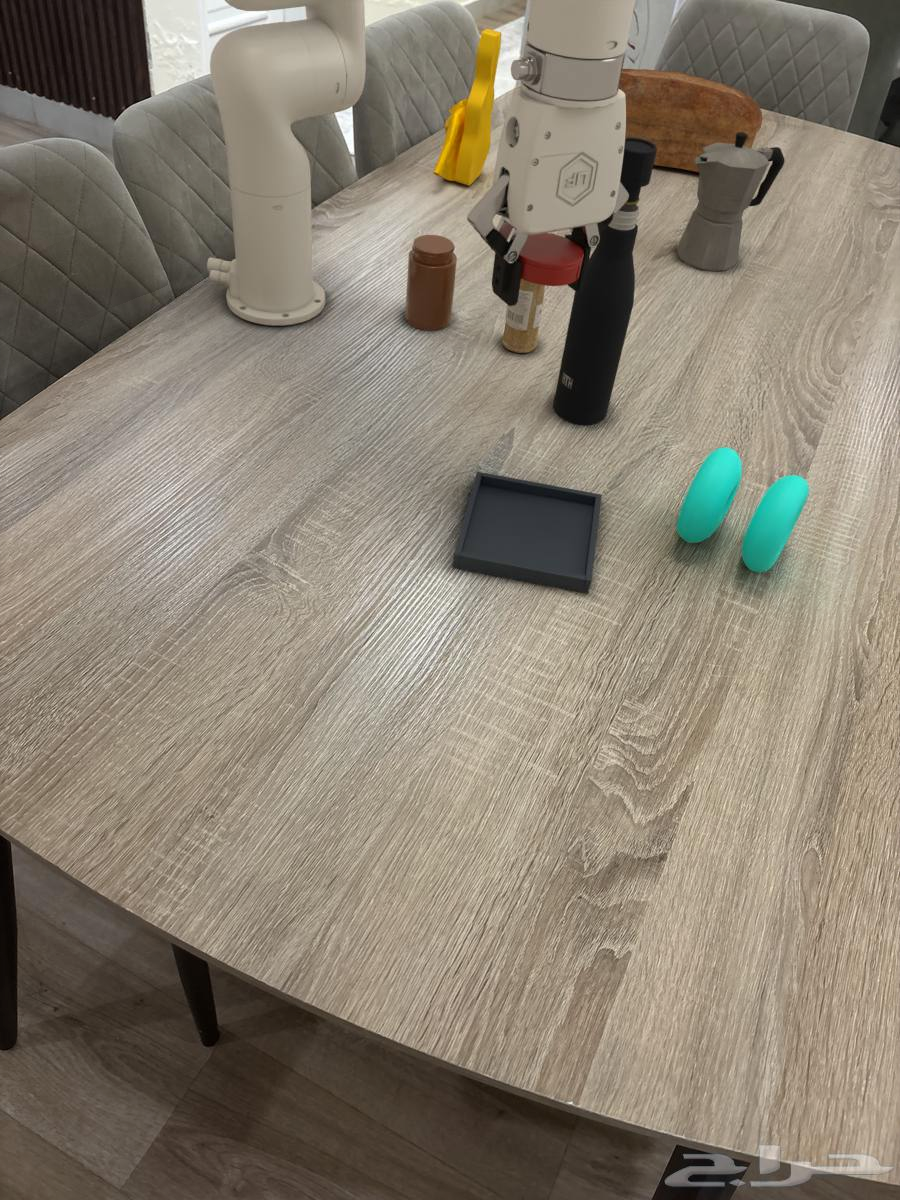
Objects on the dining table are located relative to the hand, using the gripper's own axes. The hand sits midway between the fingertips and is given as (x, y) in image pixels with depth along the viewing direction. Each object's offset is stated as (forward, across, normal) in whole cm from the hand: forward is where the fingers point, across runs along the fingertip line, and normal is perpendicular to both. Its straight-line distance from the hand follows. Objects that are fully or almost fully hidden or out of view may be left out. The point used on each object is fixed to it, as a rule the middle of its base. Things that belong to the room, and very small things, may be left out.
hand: (538, 289), depth 84 cm
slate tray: (+22, -2, -8) cm, 24 cm away
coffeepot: (+22, +58, +34) cm, 71 cm away
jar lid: (-4, 0, 0) cm, 4 cm away
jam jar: (+22, +9, +34) cm, 41 cm away
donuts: (+23, +15, -18) cm, 33 cm away
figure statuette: (+22, +36, +71) cm, 83 cm away
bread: (+22, +75, +68) cm, 104 cm away
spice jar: (+22, +16, +24) cm, 36 cm away
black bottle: (+22, +16, +9) cm, 29 cm away
